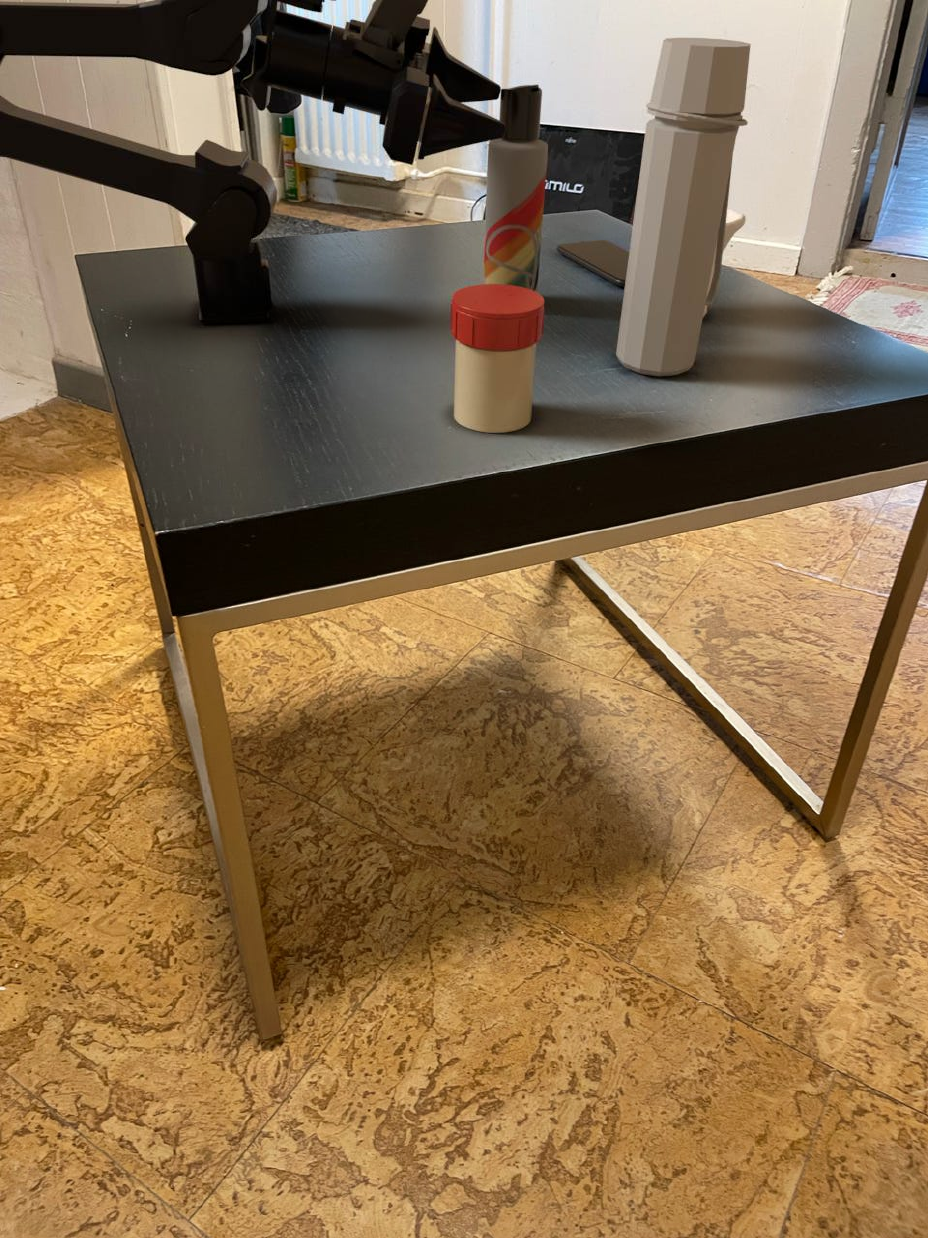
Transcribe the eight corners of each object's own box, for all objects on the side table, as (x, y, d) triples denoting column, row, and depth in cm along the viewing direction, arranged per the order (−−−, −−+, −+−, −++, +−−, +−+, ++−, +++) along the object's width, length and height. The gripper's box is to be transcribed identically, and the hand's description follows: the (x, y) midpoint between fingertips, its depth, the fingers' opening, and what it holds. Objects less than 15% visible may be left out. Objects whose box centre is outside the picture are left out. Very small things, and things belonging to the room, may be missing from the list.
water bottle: (647, 386, 81) (700, 48, 66) (596, 355, 86) (634, 36, 71) (730, 370, 84) (798, 46, 69) (676, 341, 90) (728, 35, 75)
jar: (462, 435, 72) (465, 320, 67) (447, 402, 77) (449, 292, 71) (539, 430, 73) (549, 317, 68) (520, 398, 78) (527, 290, 73)
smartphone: (675, 282, 105) (605, 245, 115) (677, 274, 104) (605, 238, 115) (619, 289, 102) (552, 251, 113) (620, 281, 101) (553, 243, 112)
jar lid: (461, 352, 68) (462, 315, 66) (443, 320, 73) (444, 285, 71) (552, 348, 69) (555, 311, 67) (528, 316, 74) (531, 282, 73)
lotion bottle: (516, 315, 94) (530, 89, 82) (470, 303, 97) (478, 82, 85) (546, 302, 98) (564, 83, 86) (502, 290, 101) (514, 77, 89)
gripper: (333, -14, 68) (537, 45, 71) (349, -74, 81) (522, -21, 84) (313, 142, 76) (497, 189, 79) (330, 65, 89) (488, 108, 92)
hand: (502, 110), depth 83 cm, fingers open, 9 cm apart
